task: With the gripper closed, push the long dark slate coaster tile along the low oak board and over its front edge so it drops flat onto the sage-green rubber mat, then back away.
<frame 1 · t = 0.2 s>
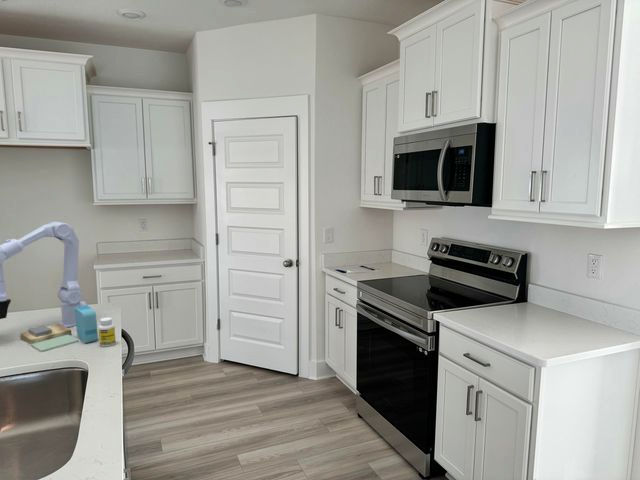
oak board: (46, 336, 175), on the table
green mat: (55, 343, 167), on the table
supplement bottle: (107, 344, 166), on the table
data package: (87, 339, 172), on the table
slate tile: (40, 332, 173), point 2 cm above the table, touching oak board
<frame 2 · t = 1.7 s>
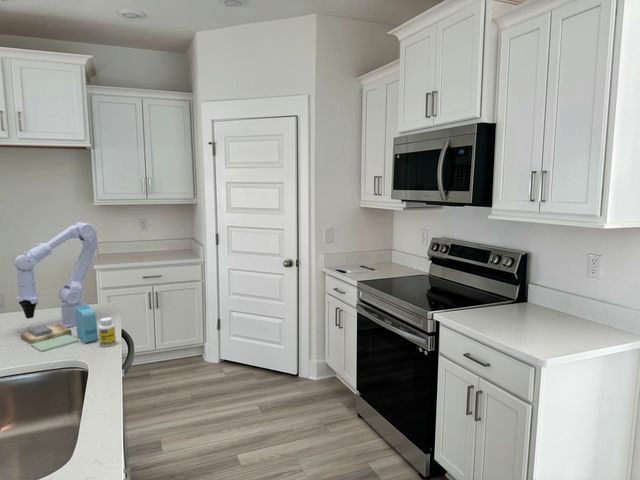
hand: (29, 317, 178), 6 cm above the table, tool pointing down, fingers closed
nothing on the table moved.
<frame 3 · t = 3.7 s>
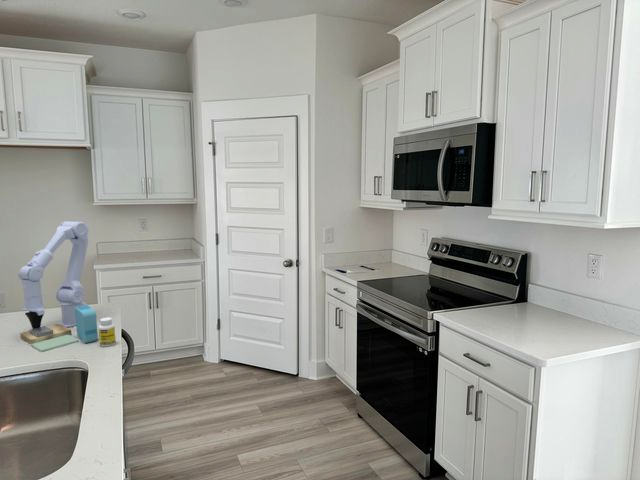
hand: (36, 329, 175), 3 cm above the table, tool pointing down, fingers closed
slate tile: (41, 333, 172), point 2 cm above the table, touching gripper, oak board
everything else where it was.
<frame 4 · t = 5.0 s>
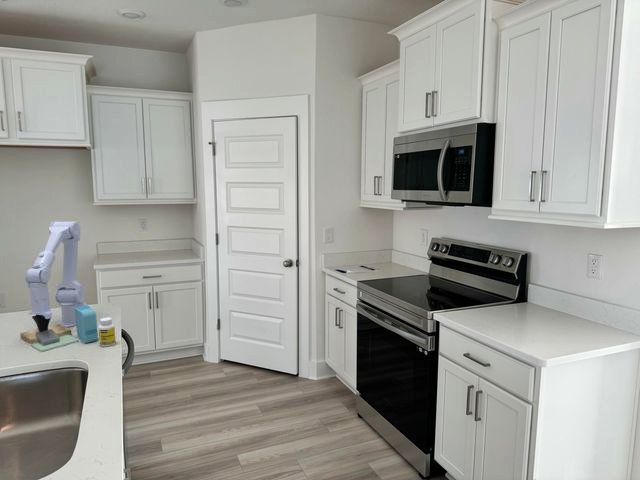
hand: (43, 333, 170), 3 cm above the table, tool pointing down, fingers closed
slate tile: (47, 339, 167), point 1 cm above the table, tilted 13°, touching gripper
everything else where it was.
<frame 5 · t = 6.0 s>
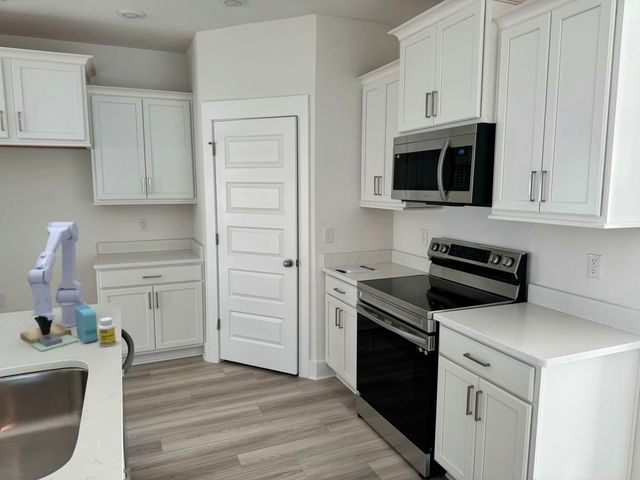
hand: (46, 334, 169), 3 cm above the table, tool pointing down, fingers closed
slate tile: (50, 342, 166), point 1 cm above the table, touching green mat
everything else where it was.
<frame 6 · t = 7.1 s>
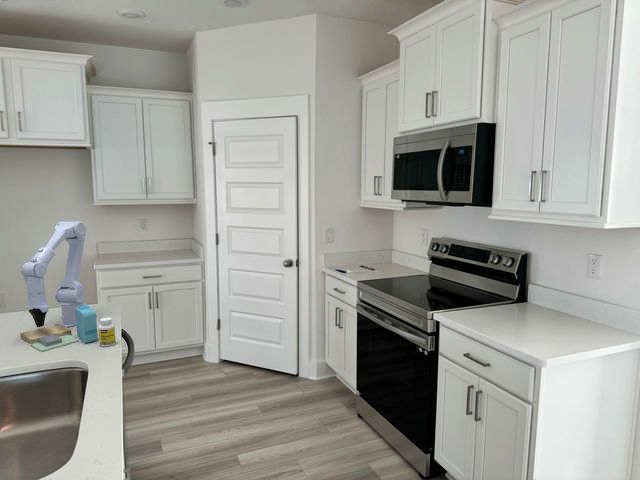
hand: (40, 326, 172), 5 cm above the table, tool pointing down, fingers closed
nothing on the table moved.
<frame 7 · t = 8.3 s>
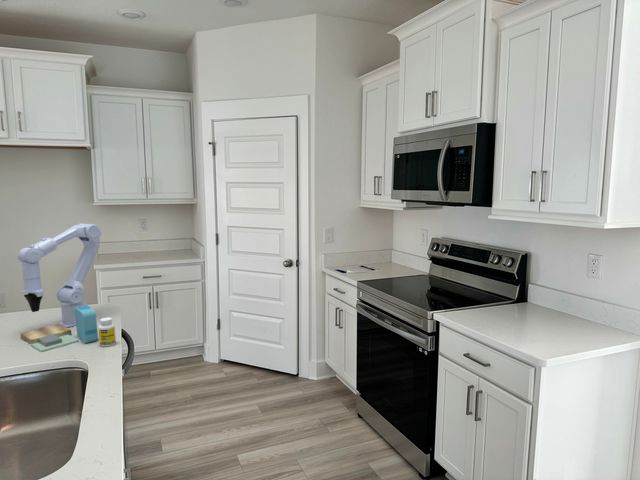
hand: (35, 311, 176), 9 cm above the table, tool pointing down, fingers closed
nothing on the table moved.
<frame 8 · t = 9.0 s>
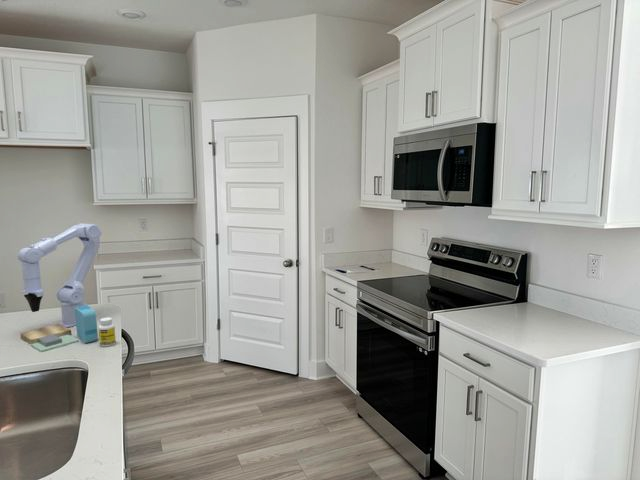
hand: (35, 311, 176), 9 cm above the table, tool pointing down, fingers closed
nothing on the table moved.
at the end: slate tile point 0.6 cm above the table; slate tile inside the target area (1.9 cm from its centre), point 0.6 cm above the table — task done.
